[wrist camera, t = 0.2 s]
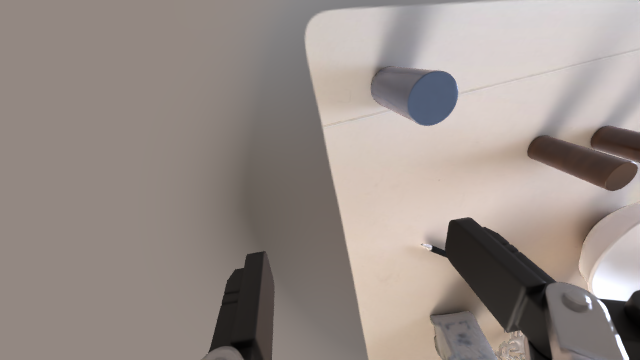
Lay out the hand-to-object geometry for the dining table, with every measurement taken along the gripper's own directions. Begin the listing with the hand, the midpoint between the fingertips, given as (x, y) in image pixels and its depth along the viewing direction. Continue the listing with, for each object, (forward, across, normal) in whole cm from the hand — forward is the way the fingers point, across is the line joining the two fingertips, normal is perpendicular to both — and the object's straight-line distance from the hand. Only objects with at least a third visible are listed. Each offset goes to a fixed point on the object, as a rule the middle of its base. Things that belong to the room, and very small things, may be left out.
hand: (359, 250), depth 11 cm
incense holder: (+19, -21, +41) cm, 50 cm away
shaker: (+19, -9, -4) cm, 21 cm away
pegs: (+19, -34, +6) cm, 39 cm away
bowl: (+19, -47, +23) cm, 56 cm away
